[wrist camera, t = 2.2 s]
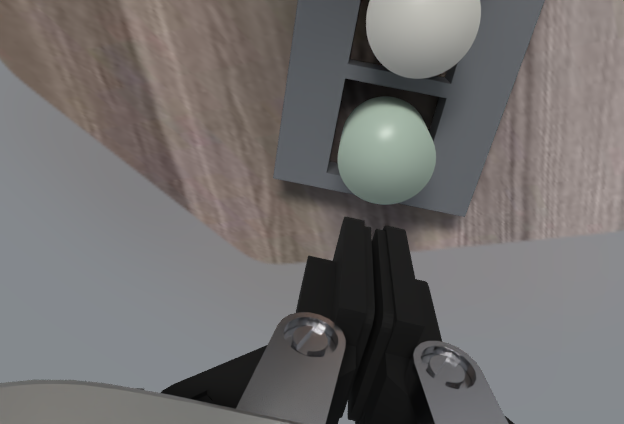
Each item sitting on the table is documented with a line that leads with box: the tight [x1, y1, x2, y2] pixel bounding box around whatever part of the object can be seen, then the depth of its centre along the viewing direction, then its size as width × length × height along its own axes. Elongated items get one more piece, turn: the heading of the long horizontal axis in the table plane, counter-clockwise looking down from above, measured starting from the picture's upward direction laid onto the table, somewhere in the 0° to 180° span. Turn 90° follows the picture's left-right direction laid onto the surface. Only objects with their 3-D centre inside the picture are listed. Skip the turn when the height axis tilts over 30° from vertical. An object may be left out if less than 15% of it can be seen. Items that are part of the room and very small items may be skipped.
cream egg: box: [366, 0, 481, 79], centre depth 24 cm, size 6×6×4 cm
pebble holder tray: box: [273, 0, 545, 217], centre depth 27 cm, size 14×24×2 cm, turn 170°
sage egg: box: [338, 96, 436, 205], centre depth 27 cm, size 6×6×4 cm
